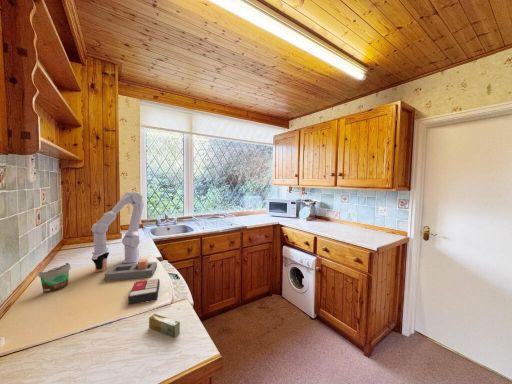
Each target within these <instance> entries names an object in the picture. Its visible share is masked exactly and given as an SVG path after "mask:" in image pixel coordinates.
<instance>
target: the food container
mask: <svg viewBox="0 0 512 384" xmlns="http://www.w3.org/2000/svg"><path fill="white" fill-rule="evenodd" d="M71 269H72V267H71V265H70V263H68V262H65V264H64V265H61V266H58V267H54V268H52V269H49V270H48V271H43V272H42V271H40V272H39V274H38V278H40V282H41V289H42V292H43V293H45V294H47V293H48V294H49V293H53V292H57V291H60V290H63V289H65V288H67V286H69V276H70V273H69V272H70V270H71Z"/></svg>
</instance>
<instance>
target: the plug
mask: <svg viewBox="0 0 512 384" xmlns="http://www.w3.org/2000/svg"><path fill="white" fill-rule="evenodd" d="M107 260H108V258H107V259H106V258H104V259H103V263H102V269H98V270H97V268H96V266H95V265H94V266H95V267H94V268H95V269H94V270H95V273H97V272H104V271H105V270H107V269H108V265H107V263H108V262H107Z"/></svg>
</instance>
